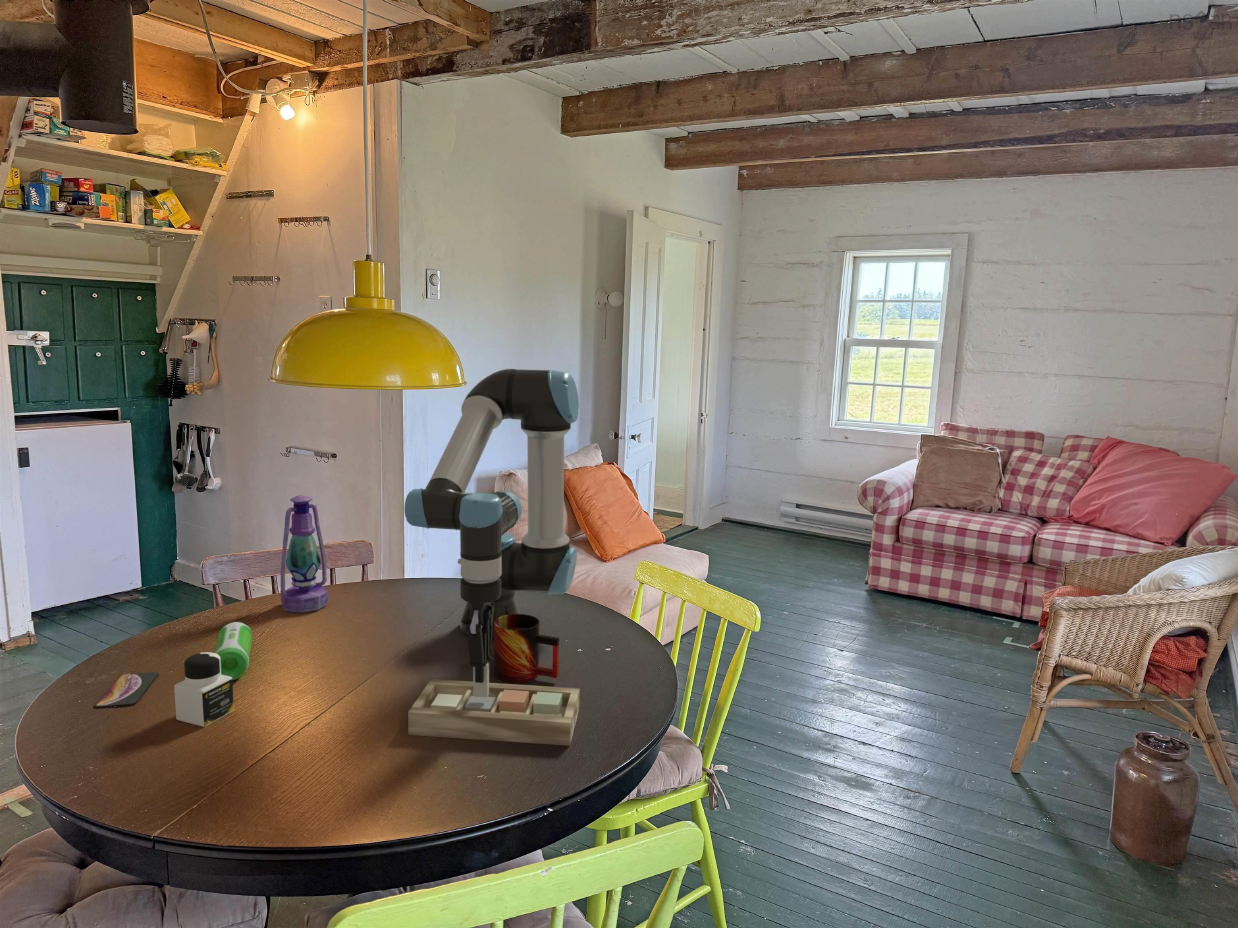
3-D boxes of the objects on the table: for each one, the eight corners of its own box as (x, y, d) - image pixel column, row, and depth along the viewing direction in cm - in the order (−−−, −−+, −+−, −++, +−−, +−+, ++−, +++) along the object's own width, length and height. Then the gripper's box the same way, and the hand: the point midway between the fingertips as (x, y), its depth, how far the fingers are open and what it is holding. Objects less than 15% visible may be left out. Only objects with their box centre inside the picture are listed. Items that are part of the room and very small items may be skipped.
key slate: (471, 705, 158) (471, 695, 158) (495, 706, 158) (495, 697, 157) (464, 717, 153) (464, 707, 153) (489, 718, 153) (490, 708, 152)
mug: (558, 683, 173) (559, 630, 171) (492, 684, 171) (493, 630, 169) (557, 664, 182) (558, 613, 180) (495, 665, 181) (495, 614, 179)
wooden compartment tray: (431, 700, 163) (431, 679, 163) (579, 709, 161) (579, 688, 161) (408, 734, 150) (408, 711, 149) (570, 745, 148) (570, 722, 147)
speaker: (218, 652, 183) (216, 620, 182) (254, 648, 186) (252, 617, 184) (210, 685, 167) (208, 651, 165) (249, 681, 169) (247, 647, 168)
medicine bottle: (204, 727, 150) (201, 666, 148) (175, 720, 152) (171, 659, 150) (235, 711, 156) (231, 652, 154) (206, 704, 159) (203, 646, 157)
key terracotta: (504, 699, 157) (504, 689, 157) (528, 700, 157) (528, 691, 156) (498, 710, 152) (499, 700, 152) (524, 712, 152) (524, 702, 152)
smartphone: (91, 706, 155) (121, 673, 170) (92, 711, 155) (121, 677, 170) (134, 703, 157) (160, 670, 171) (135, 707, 157) (160, 674, 171)
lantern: (296, 618, 204) (292, 502, 199) (268, 608, 210) (263, 495, 205) (340, 604, 215) (337, 493, 210) (312, 595, 221) (308, 487, 216)
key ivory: (438, 703, 158) (438, 693, 158) (462, 704, 158) (462, 695, 158) (431, 714, 154) (430, 704, 153) (456, 716, 153) (456, 706, 153)
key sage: (537, 701, 157) (537, 691, 156) (562, 702, 156) (562, 693, 156) (533, 713, 152) (533, 703, 152) (558, 714, 152) (558, 704, 151)
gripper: (469, 565, 157) (470, 678, 162) (451, 587, 145) (452, 710, 149) (508, 567, 157) (507, 681, 161) (493, 590, 144) (492, 712, 149)
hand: (481, 694), depth 155 cm, fingers closed
